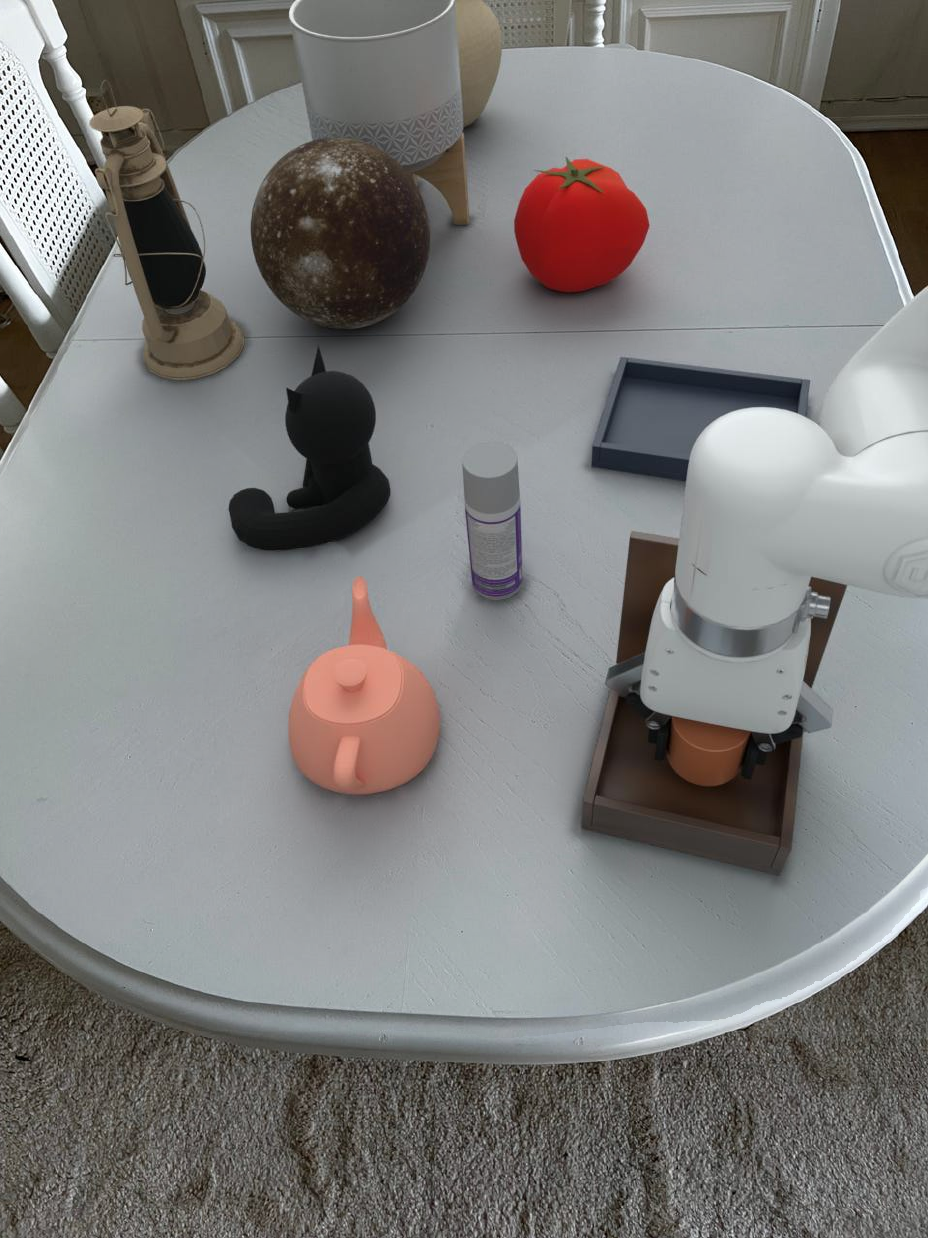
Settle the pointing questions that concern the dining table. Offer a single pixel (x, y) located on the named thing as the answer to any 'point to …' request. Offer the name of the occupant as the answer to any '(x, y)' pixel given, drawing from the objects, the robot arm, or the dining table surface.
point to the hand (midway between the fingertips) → (704, 752)
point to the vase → (477, 55)
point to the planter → (387, 83)
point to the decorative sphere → (340, 233)
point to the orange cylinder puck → (705, 751)
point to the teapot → (363, 712)
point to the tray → (678, 411)
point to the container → (493, 518)
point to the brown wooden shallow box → (689, 798)
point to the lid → (656, 566)
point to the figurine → (320, 469)
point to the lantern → (161, 251)
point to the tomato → (579, 226)
